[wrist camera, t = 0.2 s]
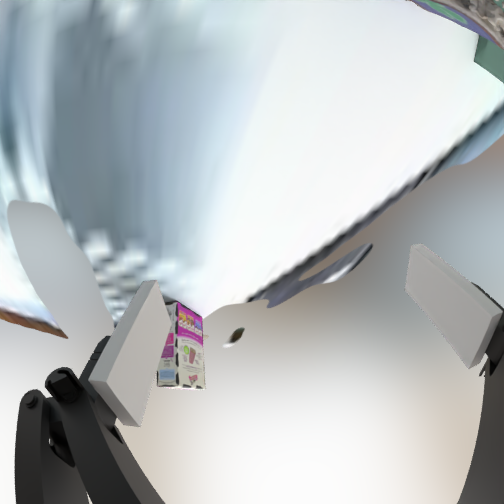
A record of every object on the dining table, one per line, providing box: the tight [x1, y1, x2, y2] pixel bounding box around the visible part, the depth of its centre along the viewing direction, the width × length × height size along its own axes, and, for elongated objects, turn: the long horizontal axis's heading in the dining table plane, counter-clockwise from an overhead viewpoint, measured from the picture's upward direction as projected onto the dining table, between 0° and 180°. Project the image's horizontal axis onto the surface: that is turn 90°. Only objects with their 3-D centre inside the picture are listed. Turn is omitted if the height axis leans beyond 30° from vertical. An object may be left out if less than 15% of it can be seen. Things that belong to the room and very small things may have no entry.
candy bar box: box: [157, 302, 206, 390], centre depth 50 cm, size 11×5×16 cm, turn 17°
